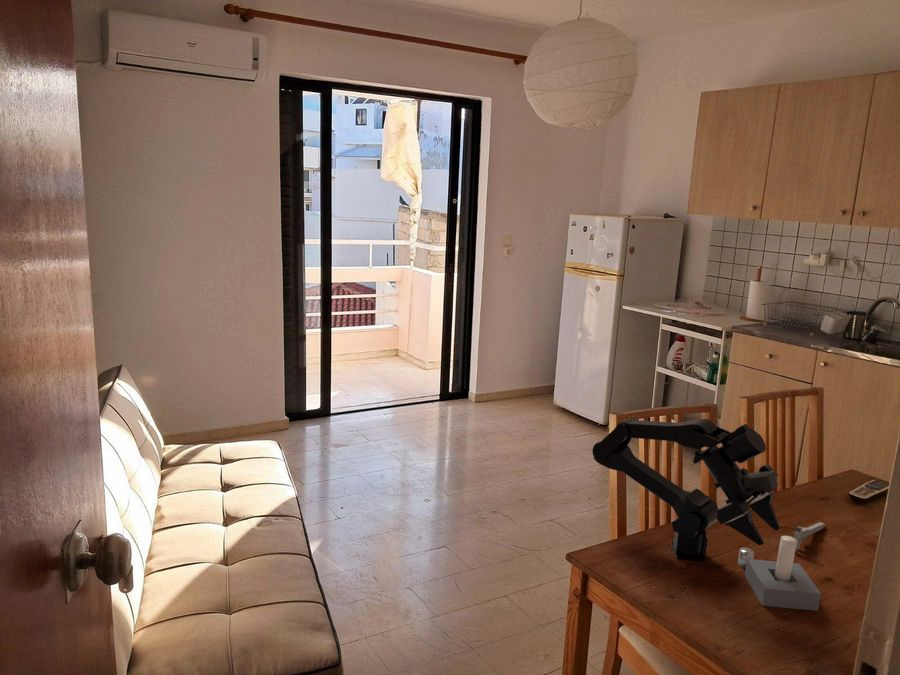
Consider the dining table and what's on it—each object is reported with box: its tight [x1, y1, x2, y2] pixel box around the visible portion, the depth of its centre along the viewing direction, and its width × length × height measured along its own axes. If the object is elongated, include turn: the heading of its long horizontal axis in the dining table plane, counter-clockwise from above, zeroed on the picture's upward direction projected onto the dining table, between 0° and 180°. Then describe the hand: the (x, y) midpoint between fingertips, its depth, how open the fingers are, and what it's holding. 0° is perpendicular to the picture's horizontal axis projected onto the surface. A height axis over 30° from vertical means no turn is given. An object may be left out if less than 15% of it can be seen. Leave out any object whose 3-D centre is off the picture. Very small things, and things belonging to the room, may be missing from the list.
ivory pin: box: [774, 535, 797, 582], centre depth 140 cm, size 3×3×12 cm
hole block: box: [744, 559, 822, 612], centre depth 141 cm, size 11×11×4 cm
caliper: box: [793, 521, 826, 553], centre depth 164 cm, size 20×1×6 cm, turn 133°
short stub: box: [737, 547, 755, 569], centre depth 151 cm, size 3×3×4 cm
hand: (770, 537), depth 142 cm, fingers open, 9 cm apart
